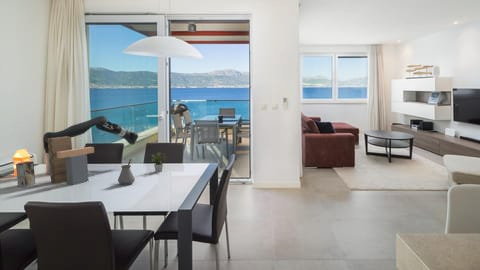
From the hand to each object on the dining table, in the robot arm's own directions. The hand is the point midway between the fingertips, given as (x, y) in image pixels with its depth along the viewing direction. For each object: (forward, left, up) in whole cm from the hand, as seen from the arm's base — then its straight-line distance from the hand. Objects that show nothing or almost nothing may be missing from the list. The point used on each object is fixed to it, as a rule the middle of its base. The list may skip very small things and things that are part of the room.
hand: (103, 122), depth 271 cm
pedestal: (+7, -30, -41) cm, 51 cm away
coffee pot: (+38, -11, -41) cm, 57 cm away
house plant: (+34, +23, -41) cm, 58 cm away
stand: (-6, -33, -41) cm, 53 cm away
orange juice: (-54, -36, -41) cm, 77 cm away
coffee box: (-18, -52, -41) cm, 69 cm away
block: (+7, -30, -21) cm, 37 cm away
